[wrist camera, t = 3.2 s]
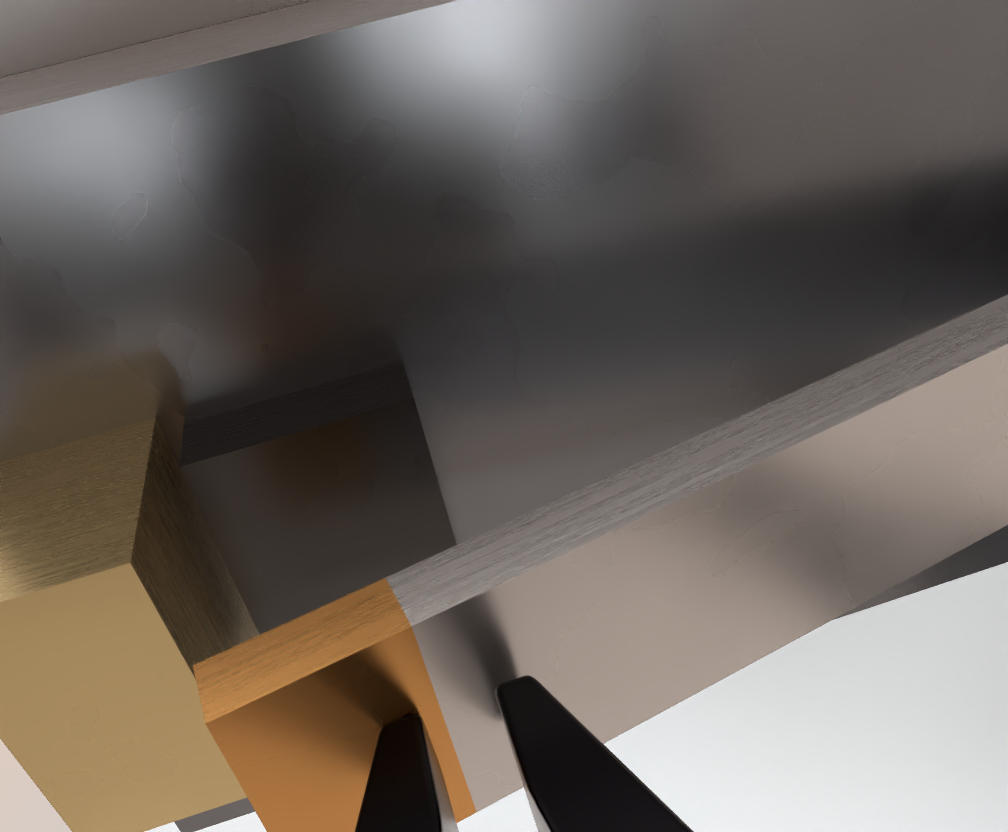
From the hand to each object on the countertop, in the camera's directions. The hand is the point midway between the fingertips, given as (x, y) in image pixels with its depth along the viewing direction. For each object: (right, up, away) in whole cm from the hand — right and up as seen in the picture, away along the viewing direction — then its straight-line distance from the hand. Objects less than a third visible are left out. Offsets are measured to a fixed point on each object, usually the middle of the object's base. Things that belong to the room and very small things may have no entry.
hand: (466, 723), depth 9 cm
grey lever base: (+3, +5, +7) cm, 9 cm away
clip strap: (+5, +3, +2) cm, 6 cm away
